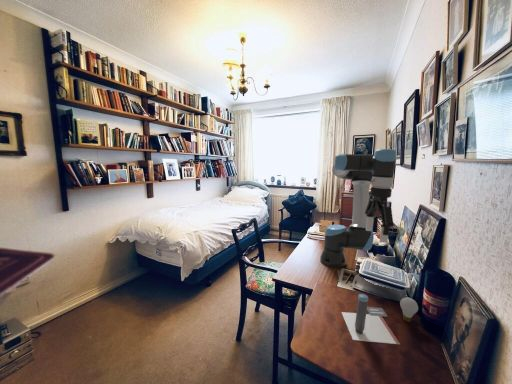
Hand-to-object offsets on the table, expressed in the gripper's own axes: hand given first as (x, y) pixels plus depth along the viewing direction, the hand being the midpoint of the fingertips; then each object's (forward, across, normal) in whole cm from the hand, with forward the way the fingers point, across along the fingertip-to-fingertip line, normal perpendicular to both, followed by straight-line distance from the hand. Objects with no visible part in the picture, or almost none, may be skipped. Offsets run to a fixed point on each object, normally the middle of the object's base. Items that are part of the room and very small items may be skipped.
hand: (375, 236), depth 92 cm
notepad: (+32, +15, -6) cm, 36 cm away
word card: (+32, +6, +1) cm, 32 cm away
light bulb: (+32, +10, +11) cm, 35 cm away
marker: (+31, +18, -10) cm, 38 cm away
